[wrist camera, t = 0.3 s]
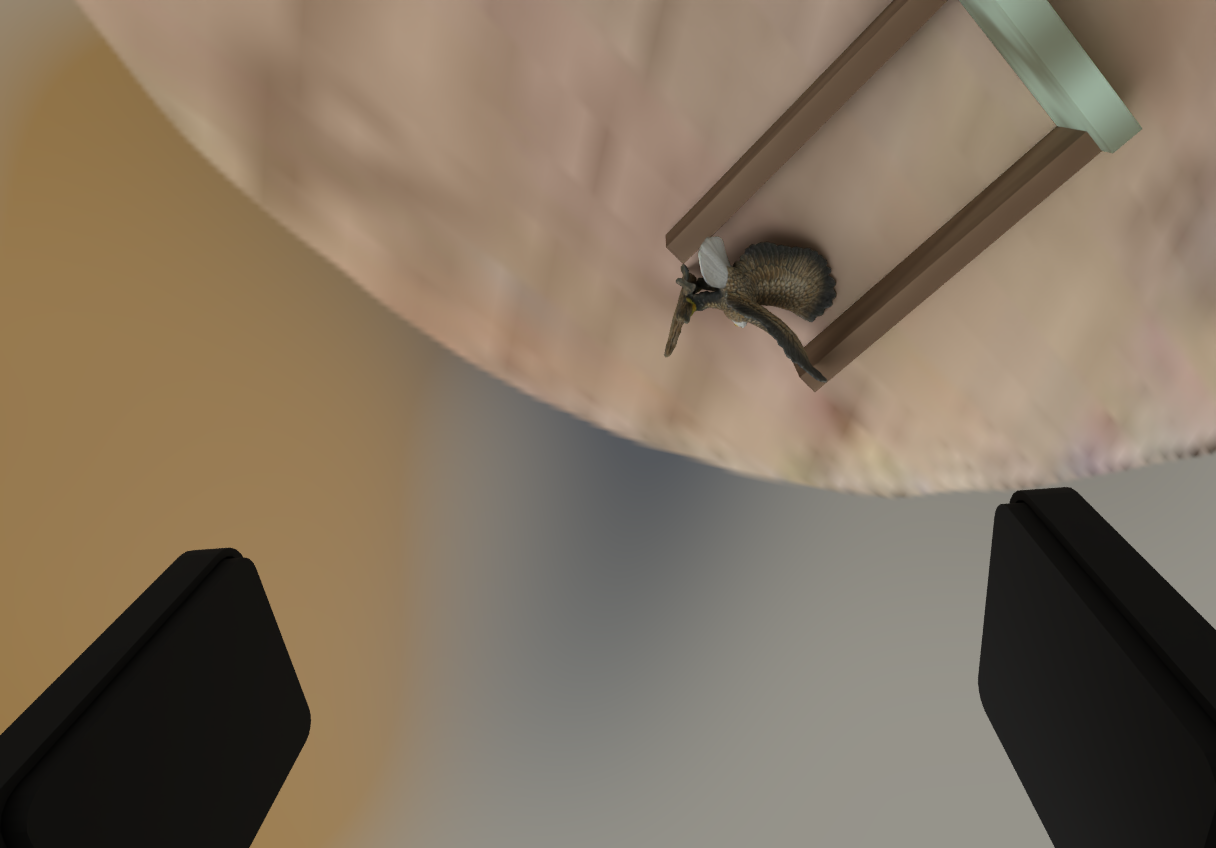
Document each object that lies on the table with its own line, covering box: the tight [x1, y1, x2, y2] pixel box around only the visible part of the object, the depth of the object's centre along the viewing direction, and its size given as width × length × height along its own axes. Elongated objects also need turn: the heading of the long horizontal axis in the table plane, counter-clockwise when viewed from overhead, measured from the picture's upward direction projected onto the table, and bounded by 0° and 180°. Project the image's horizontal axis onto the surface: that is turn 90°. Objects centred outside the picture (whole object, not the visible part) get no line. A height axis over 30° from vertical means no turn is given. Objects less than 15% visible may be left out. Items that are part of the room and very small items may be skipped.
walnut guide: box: [666, 0, 1142, 392], centre depth 39 cm, size 12×20×4 cm, turn 137°
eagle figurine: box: [664, 236, 836, 383], centre depth 41 cm, size 8×7×9 cm
